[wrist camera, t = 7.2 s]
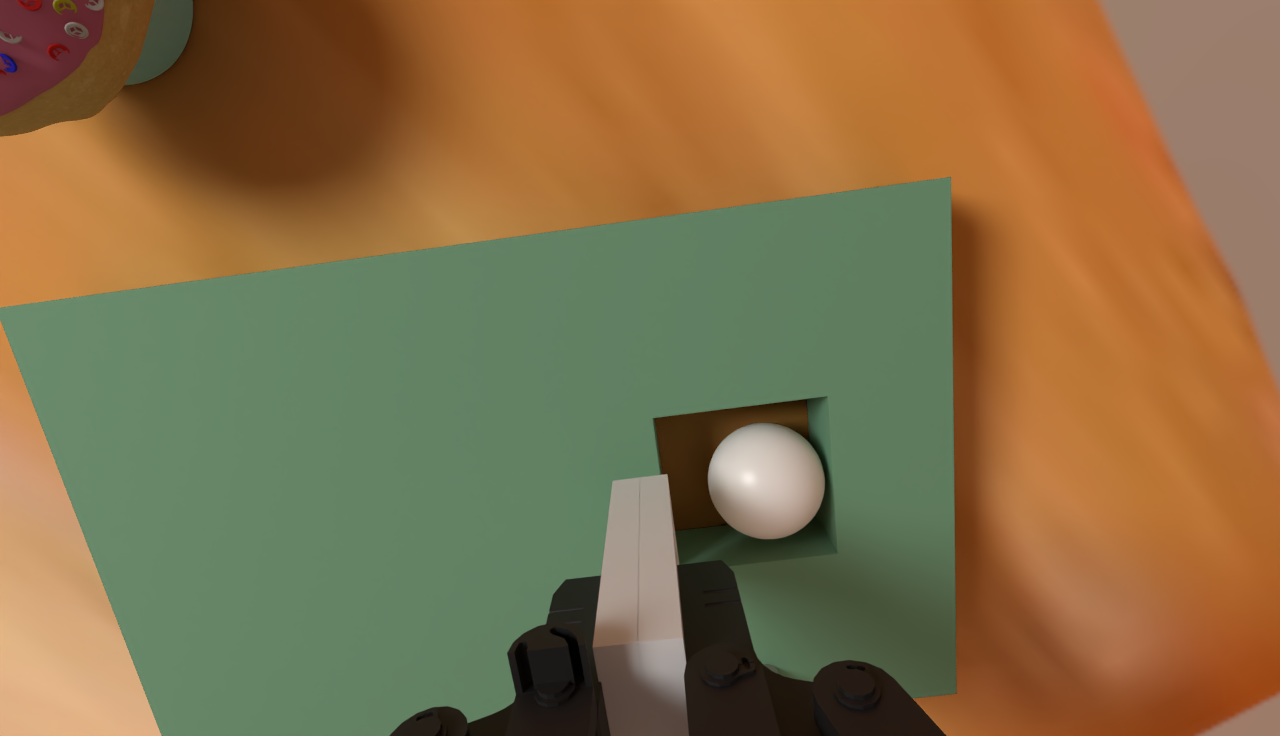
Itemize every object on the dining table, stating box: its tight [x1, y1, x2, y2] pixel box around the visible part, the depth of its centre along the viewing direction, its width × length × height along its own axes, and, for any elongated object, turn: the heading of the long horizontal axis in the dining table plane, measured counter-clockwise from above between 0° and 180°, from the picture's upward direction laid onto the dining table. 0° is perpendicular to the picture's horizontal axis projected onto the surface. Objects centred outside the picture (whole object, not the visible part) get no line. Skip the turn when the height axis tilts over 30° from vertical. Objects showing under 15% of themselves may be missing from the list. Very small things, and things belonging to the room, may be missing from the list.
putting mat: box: [0, 177, 957, 736], centre depth 13 cm, size 16×26×14 cm, turn 98°
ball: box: [708, 423, 825, 539], centre depth 18 cm, size 4×4×4 cm
